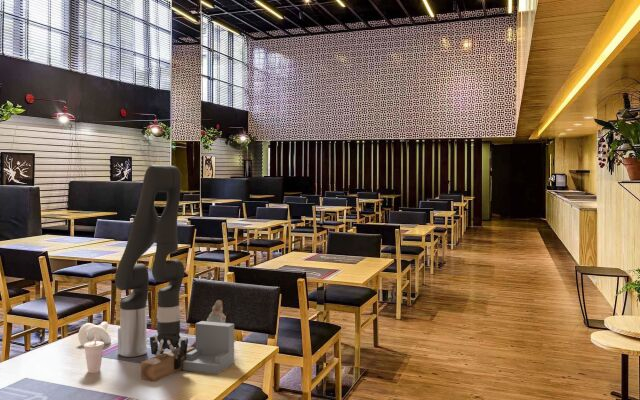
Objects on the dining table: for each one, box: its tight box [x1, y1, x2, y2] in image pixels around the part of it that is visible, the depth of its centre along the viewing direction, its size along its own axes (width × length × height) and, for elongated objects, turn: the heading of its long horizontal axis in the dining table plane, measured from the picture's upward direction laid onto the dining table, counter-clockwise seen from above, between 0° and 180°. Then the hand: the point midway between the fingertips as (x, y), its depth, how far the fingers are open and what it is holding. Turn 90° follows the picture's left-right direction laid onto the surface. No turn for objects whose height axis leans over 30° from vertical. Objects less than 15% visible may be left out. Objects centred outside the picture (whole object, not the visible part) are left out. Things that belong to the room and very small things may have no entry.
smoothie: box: [83, 330, 105, 374], centre depth 170 cm, size 6×6×14 cm
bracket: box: [182, 320, 235, 375], centre depth 176 cm, size 13×12×14 cm
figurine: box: [208, 299, 227, 323], centre depth 200 cm, size 9×8×20 cm
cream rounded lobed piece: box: [77, 321, 112, 347], centre depth 199 cm, size 11×12×9 cm
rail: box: [140, 345, 195, 383], centre depth 172 cm, size 6×20×6 cm, turn 155°
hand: (168, 367), depth 172 cm, fingers closed on rail, 6 cm apart
